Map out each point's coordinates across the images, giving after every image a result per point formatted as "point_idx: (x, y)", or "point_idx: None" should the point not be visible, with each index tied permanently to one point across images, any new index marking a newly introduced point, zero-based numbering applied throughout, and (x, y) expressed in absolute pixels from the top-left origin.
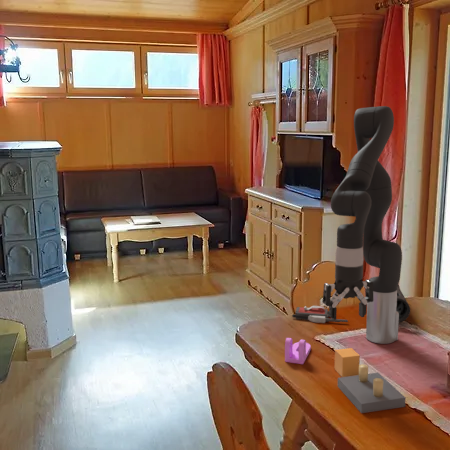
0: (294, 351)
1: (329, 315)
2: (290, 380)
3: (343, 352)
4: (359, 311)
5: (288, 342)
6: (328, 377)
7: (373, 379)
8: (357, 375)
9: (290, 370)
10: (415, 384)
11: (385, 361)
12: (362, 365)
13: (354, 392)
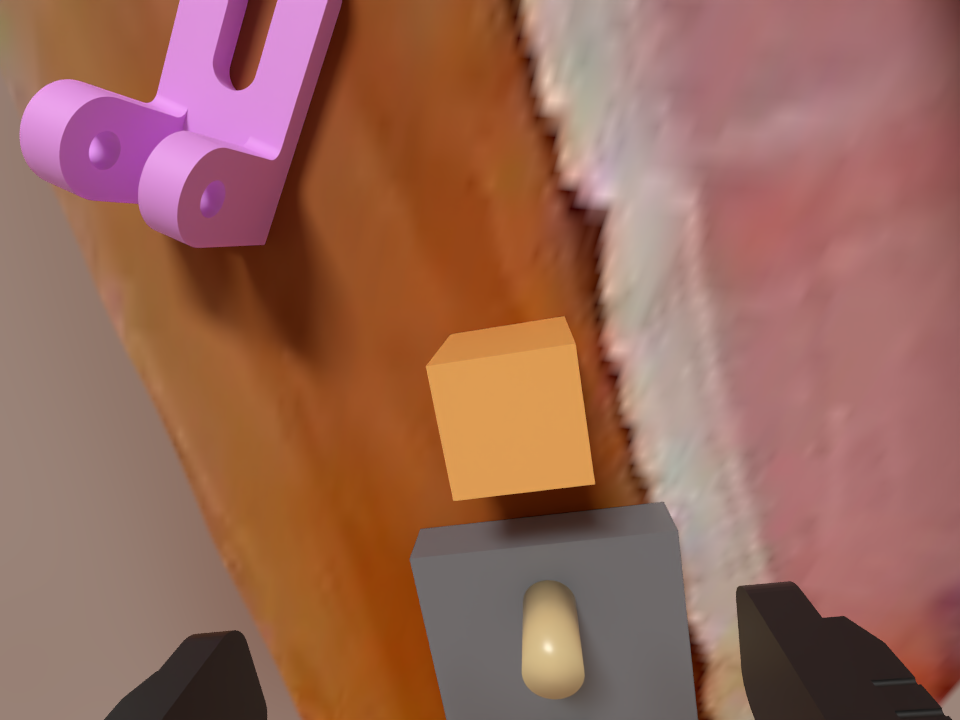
0: (200, 84)
1: (133, 698)
2: (181, 438)
3: (483, 418)
4: (772, 655)
5: (58, 180)
6: (392, 430)
7: (613, 603)
8: (534, 548)
9: (184, 322)
10: (864, 564)
11: (838, 254)
12: (550, 660)
13: (460, 708)
